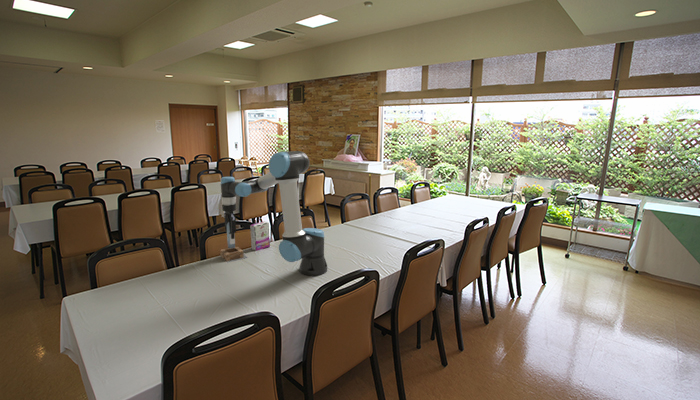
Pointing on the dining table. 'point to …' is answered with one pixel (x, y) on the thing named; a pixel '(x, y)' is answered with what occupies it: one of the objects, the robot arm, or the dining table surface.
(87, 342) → the dining table surface
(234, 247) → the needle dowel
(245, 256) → the mat
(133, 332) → the dining table surface
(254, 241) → the candy bar box
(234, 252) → the wooden square frame
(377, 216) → the dining table surface
